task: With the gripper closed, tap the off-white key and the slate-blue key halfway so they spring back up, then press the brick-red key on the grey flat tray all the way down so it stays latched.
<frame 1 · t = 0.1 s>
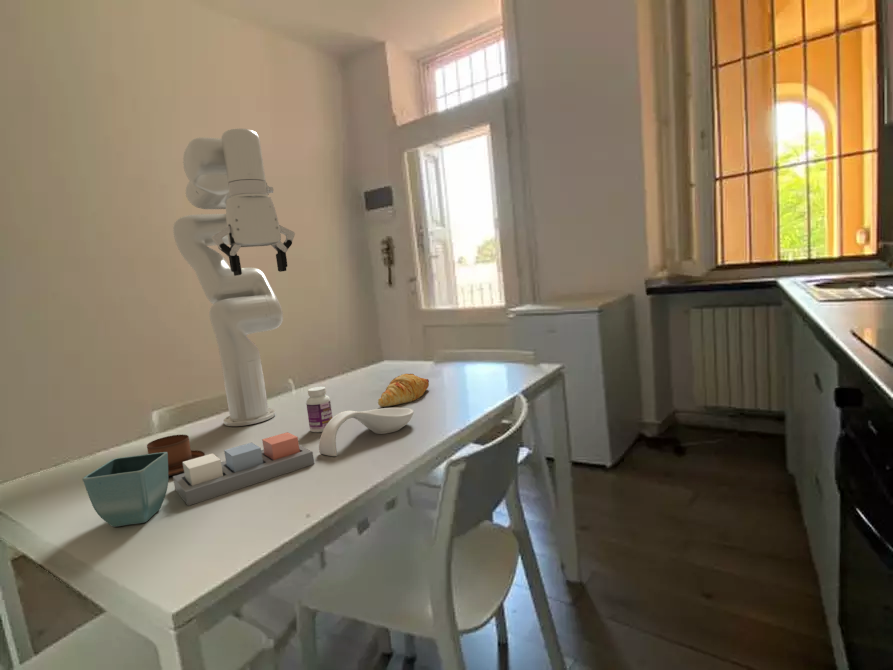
hand: (260, 273, 113), 37 cm above the table, tool pointing down, fingers open, 9 cm apart
cup and saucer: (173, 471, 104), on the table
key white: (202, 469, 91), point 4 cm above the table, slide at 0.0 cm
pill bottle: (322, 430, 121), on the table
key blue: (243, 456, 95), point 4 cm above the table, slide at 0.0 cm
croissant: (404, 399, 142), on the table
grey flat tray: (246, 476, 96), on the table
spoon rest: (370, 438, 112), on the table
flower pot: (137, 519, 83), on the table
key red: (280, 445, 100), point 4 cm above the table, slide at 0.0 cm
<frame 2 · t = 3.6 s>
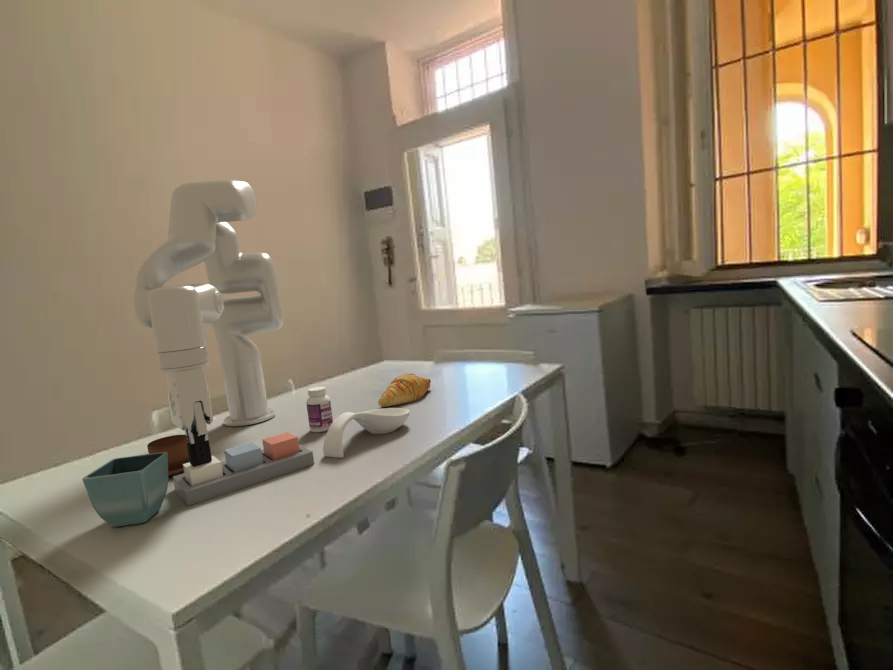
hand: (201, 463, 91), 5 cm above the table, tool pointing down, fingers closed
key white: (203, 471, 91), point 3 cm above the table, slide at 0.4 cm, touching gripper
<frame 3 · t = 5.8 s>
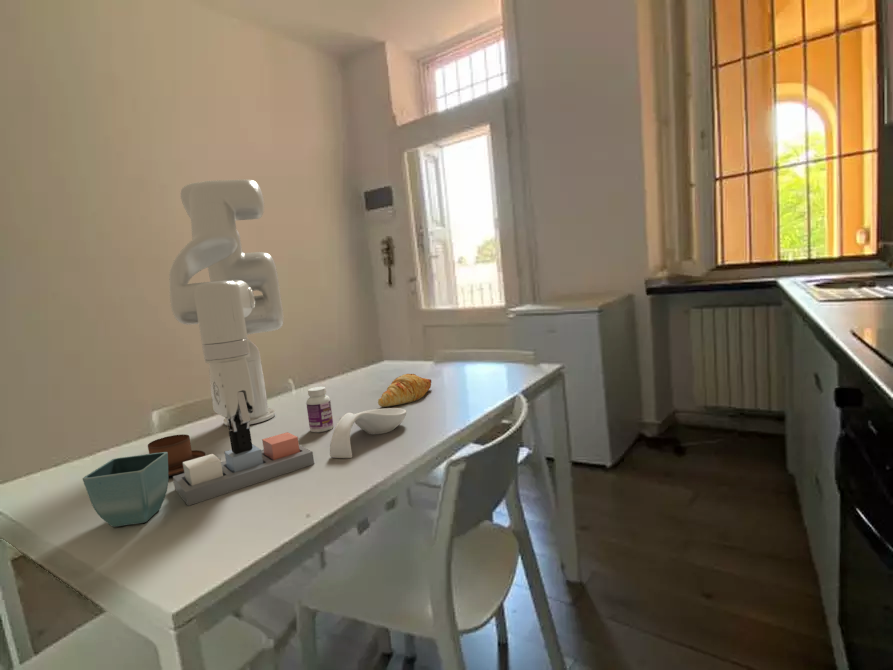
hand: (242, 450, 95), 5 cm above the table, tool pointing down, fingers closed
key white: (202, 469, 91), point 4 cm above the table, slide at 0.1 cm
key blue: (243, 458, 95), point 3 cm above the table, slide at 0.3 cm, touching gripper
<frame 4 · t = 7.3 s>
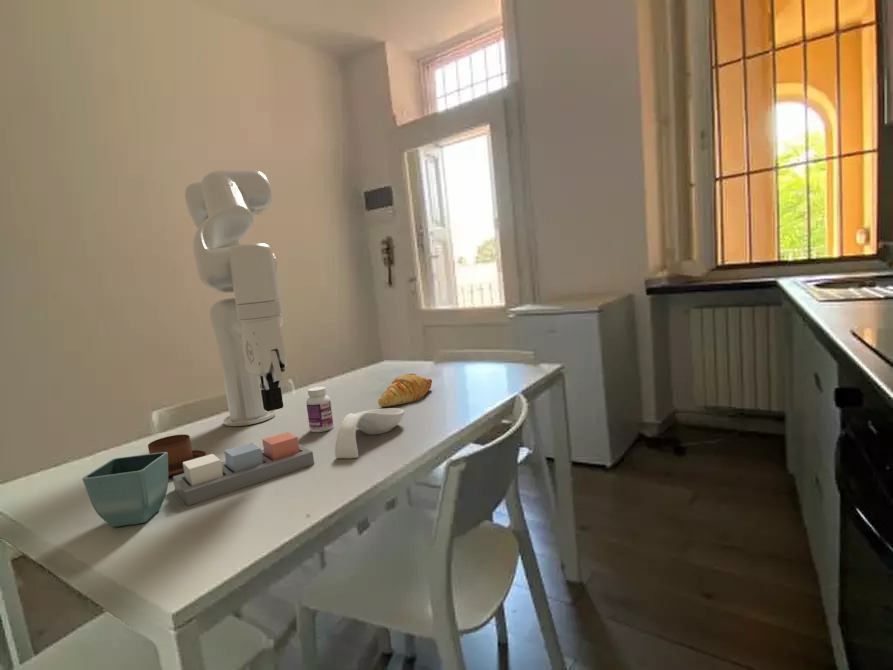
hand: (273, 408, 98), 11 cm above the table, tool pointing down, fingers closed
key blue: (243, 457, 95), point 4 cm above the table, slide at 0.1 cm
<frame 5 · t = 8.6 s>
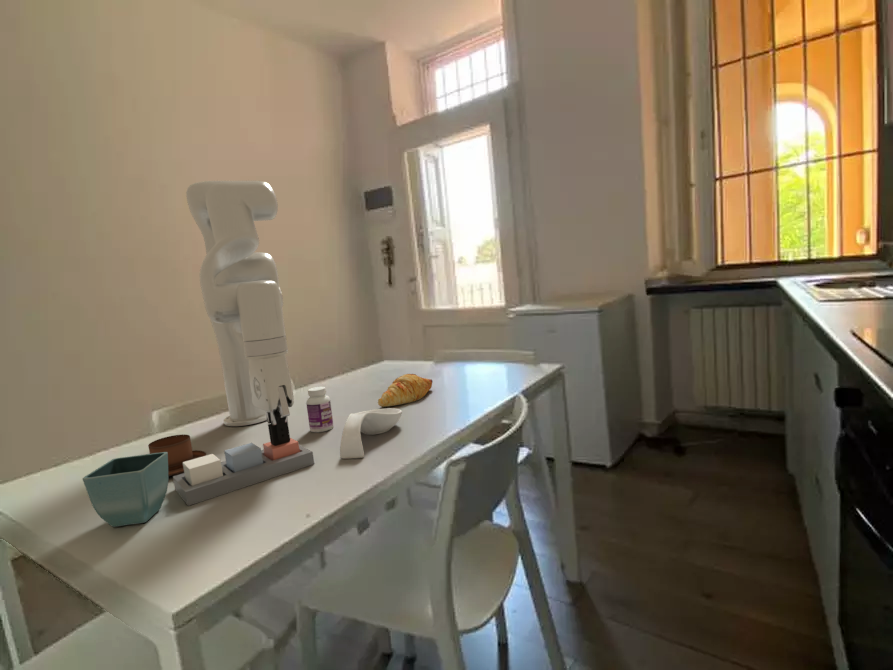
hand: (280, 443, 99), 4 cm above the table, tool pointing down, fingers closed
key red: (281, 450, 100), point 3 cm above the table, slide at 0.9 cm, touching gripper
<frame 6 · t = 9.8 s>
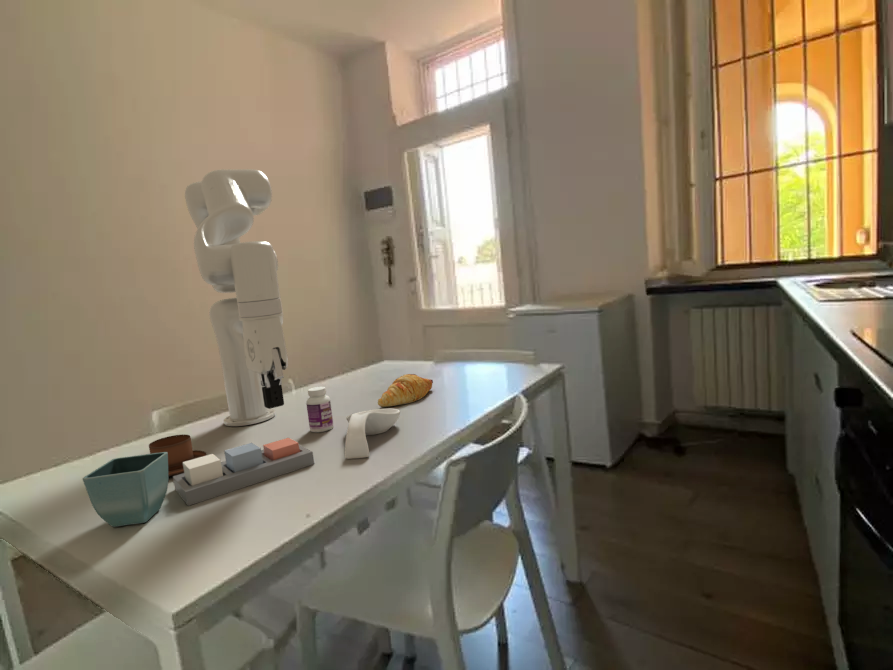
hand: (274, 406, 99), 11 cm above the table, tool pointing down, fingers closed
key red: (281, 451, 100), point 3 cm above the table, slide at 1.1 cm
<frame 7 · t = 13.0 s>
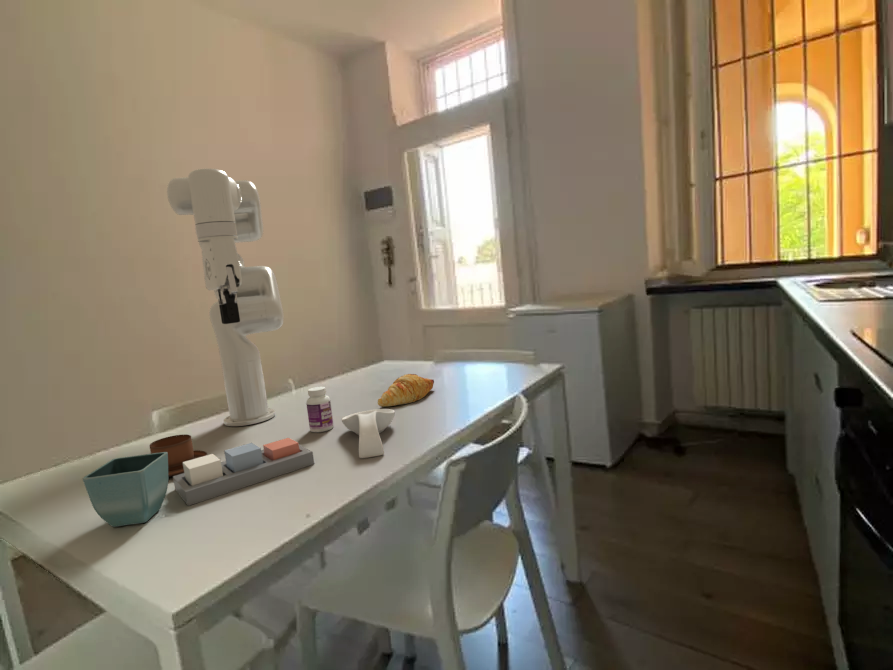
hand: (231, 322, 108), 27 cm above the table, tool pointing down, fingers closed
at the end: key red slide at 1.1 cm; key white slide at 0.1 cm; key blue slide at 0.1 cm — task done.
